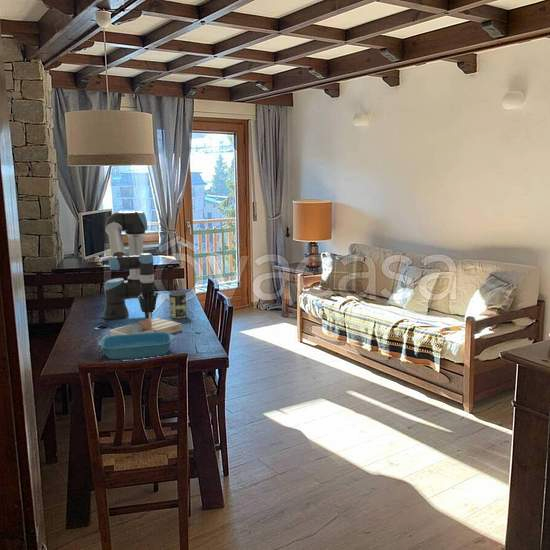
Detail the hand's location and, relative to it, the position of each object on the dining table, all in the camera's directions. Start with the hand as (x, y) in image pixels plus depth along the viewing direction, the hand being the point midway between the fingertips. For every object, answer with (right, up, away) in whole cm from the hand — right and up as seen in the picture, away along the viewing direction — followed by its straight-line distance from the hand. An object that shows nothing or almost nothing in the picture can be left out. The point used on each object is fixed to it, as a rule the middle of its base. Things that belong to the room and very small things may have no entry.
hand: (149, 323), depth 310 cm
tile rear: (-2, -2, -3) cm, 4 cm away
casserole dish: (+2, -12, -34) cm, 36 cm away
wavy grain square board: (+4, -4, +5) cm, 8 cm away
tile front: (-4, -3, -5) cm, 7 cm away
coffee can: (+10, +1, +38) cm, 40 cm away
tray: (-7, -7, -8) cm, 13 cm away
